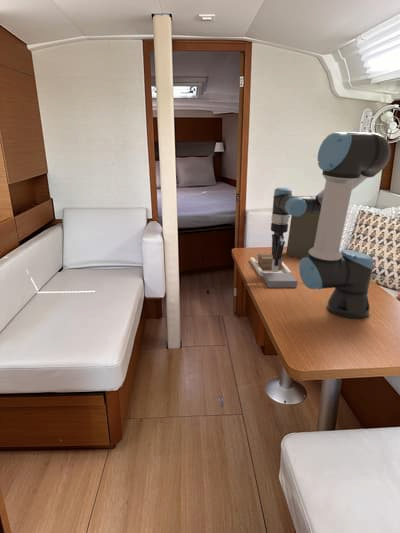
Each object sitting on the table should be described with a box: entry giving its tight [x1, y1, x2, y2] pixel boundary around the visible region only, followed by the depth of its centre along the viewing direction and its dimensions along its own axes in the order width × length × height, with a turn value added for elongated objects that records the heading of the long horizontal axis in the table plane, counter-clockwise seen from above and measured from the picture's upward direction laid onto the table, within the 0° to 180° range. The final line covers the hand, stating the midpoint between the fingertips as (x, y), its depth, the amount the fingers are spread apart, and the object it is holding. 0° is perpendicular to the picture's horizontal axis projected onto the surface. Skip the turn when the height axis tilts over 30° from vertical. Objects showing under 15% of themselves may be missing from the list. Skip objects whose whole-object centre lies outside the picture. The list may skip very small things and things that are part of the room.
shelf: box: [249, 256, 293, 277], centre depth 182 cm, size 22×15×3 cm
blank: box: [257, 253, 283, 270], centre depth 182 cm, size 8×10×6 cm
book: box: [286, 214, 320, 259], centre depth 200 cm, size 22×9×28 cm, turn 79°
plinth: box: [262, 273, 298, 288], centre depth 166 cm, size 10×13×3 cm
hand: (274, 271), depth 174 cm, fingers closed
